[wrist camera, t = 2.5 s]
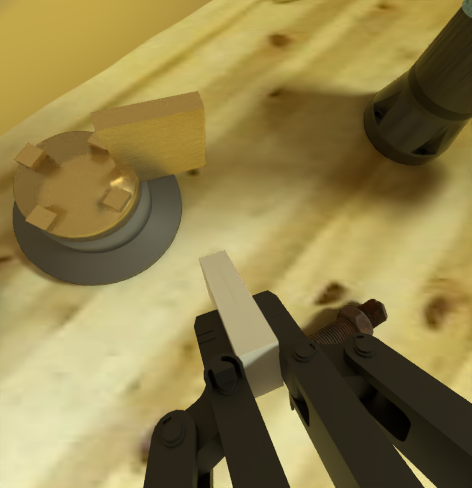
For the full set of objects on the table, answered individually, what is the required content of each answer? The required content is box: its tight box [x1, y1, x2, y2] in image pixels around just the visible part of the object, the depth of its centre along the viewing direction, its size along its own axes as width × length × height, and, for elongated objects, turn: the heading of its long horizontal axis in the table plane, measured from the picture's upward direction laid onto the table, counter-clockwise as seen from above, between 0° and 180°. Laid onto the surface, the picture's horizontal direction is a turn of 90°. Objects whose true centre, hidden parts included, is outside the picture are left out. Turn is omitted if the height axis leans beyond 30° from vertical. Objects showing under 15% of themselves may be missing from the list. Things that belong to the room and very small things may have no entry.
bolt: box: [309, 299, 388, 344], centre depth 34 cm, size 6×5×15 cm
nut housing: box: [13, 174, 182, 285], centre depth 35 cm, size 22×22×5 cm
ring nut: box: [13, 91, 206, 242], centre depth 28 cm, size 22×13×11 cm, turn 110°
